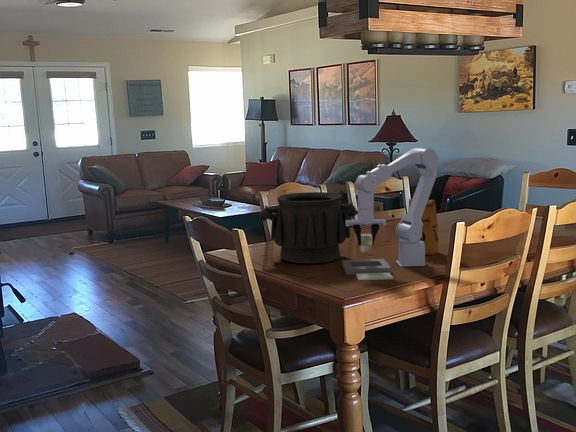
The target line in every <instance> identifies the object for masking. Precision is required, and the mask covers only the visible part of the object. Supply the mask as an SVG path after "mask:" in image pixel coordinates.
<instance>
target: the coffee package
mask: <svg viewBox="0 0 576 432" xmlns="http://www.w3.org/2000/svg"><path fill="white" fill-rule="evenodd" d="M412 199H413V198H409V199H408V208H407V211H408V210H409V207H410V204H411V202H412ZM436 206H437V205H436V201H435V199H428V201H427V204H426V206H425V209H424V212H423V215H422V217H421V220H422V223H423V227H422V236H421V238H420V240H419V241H423V242H424V244H425V256H426V255H429V256H434V255H436V254H438V253H439V230H438V229H439V228H438V227H439V226H438V216H437V207H436Z"/></svg>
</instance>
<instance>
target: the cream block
mask: <svg viewBox="0 0 576 432" xmlns="http://www.w3.org/2000/svg"><path fill="white" fill-rule="evenodd" d="M359 251H360V253H373V245H372V235H371V233H361V246H359Z"/></svg>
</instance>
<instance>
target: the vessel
mask: <svg viewBox="0 0 576 432" xmlns="http://www.w3.org/2000/svg"><path fill="white" fill-rule="evenodd" d="M341 197H342V196H341V194H339V193H334V192H326V191H325V192H322V191H309V192H294V193H293V192H291V193H286V194H282V195H279V196H277V197H276V199H277V200H276V201H277V202H278V205H277V206H272V207H271V206H267V205H265V206H264V208H263V209H262V210H261V211H260V212H259V213H258V214H257V216H258V218H260V219H261V221H262V222H265V221H267V220H270V221H271V231H270V240H271V241H274V242H275V245H277V246H278V247H280V253H279V257H280V258H281V260H284V261H287V262H291V263H300V264H323V263H324V264H325V263H330V262H334V261H337V260H338V259H340V257H341V251H340V244H342V243H344V242H345V241H346V240H347V239H350V237H351V229H350V226H346V220H349V218H348V217H351V218H352V220H355V216H358V209H356V208H355V205H354V202H350V203H340V199H341ZM342 210H345V211H346V212H345V211H343V212H342Z"/></svg>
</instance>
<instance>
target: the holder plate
mask: <svg viewBox="0 0 576 432" xmlns="http://www.w3.org/2000/svg"><path fill="white" fill-rule="evenodd" d="M341 267H342V268H343V270H344V272H345V274H346V275H348V276H349V275H350V276H353V275H355V276H356V274H359V273H386V272H389V273H390V274H392V267H391V265H390V264H389V263H388V262H387V261H386V260H385V258H367V259H364V258H363V259H343V260H341Z"/></svg>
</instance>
